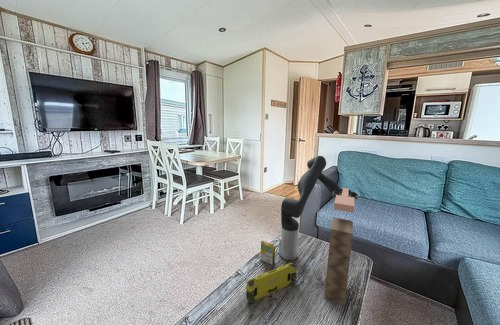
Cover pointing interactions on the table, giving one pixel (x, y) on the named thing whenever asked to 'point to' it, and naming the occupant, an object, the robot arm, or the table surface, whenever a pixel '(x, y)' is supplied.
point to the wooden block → (338, 260)
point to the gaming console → (270, 282)
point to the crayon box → (267, 252)
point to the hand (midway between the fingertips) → (345, 191)
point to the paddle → (344, 202)
